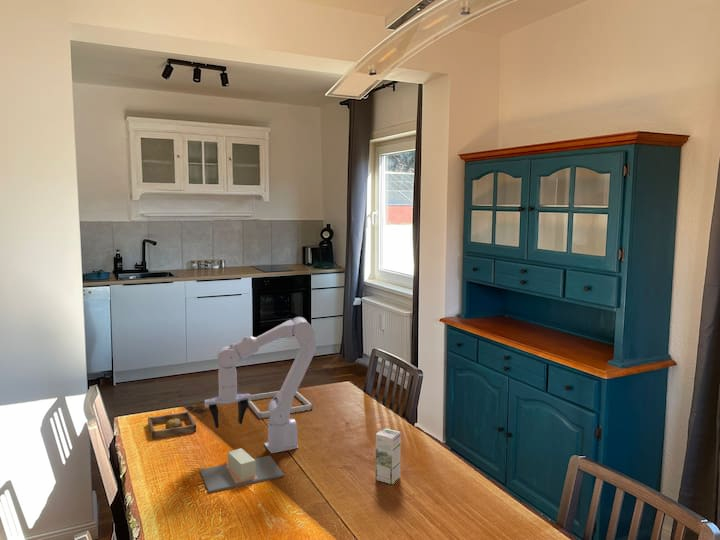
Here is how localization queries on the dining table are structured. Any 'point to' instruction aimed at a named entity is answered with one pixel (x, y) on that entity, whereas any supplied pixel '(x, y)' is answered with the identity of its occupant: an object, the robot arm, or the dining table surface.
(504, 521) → the dining table surface
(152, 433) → the fruit rim
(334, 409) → the dining table surface
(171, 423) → the fruit
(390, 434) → the syrup box
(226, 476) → the mat
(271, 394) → the box rim
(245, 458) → the block
